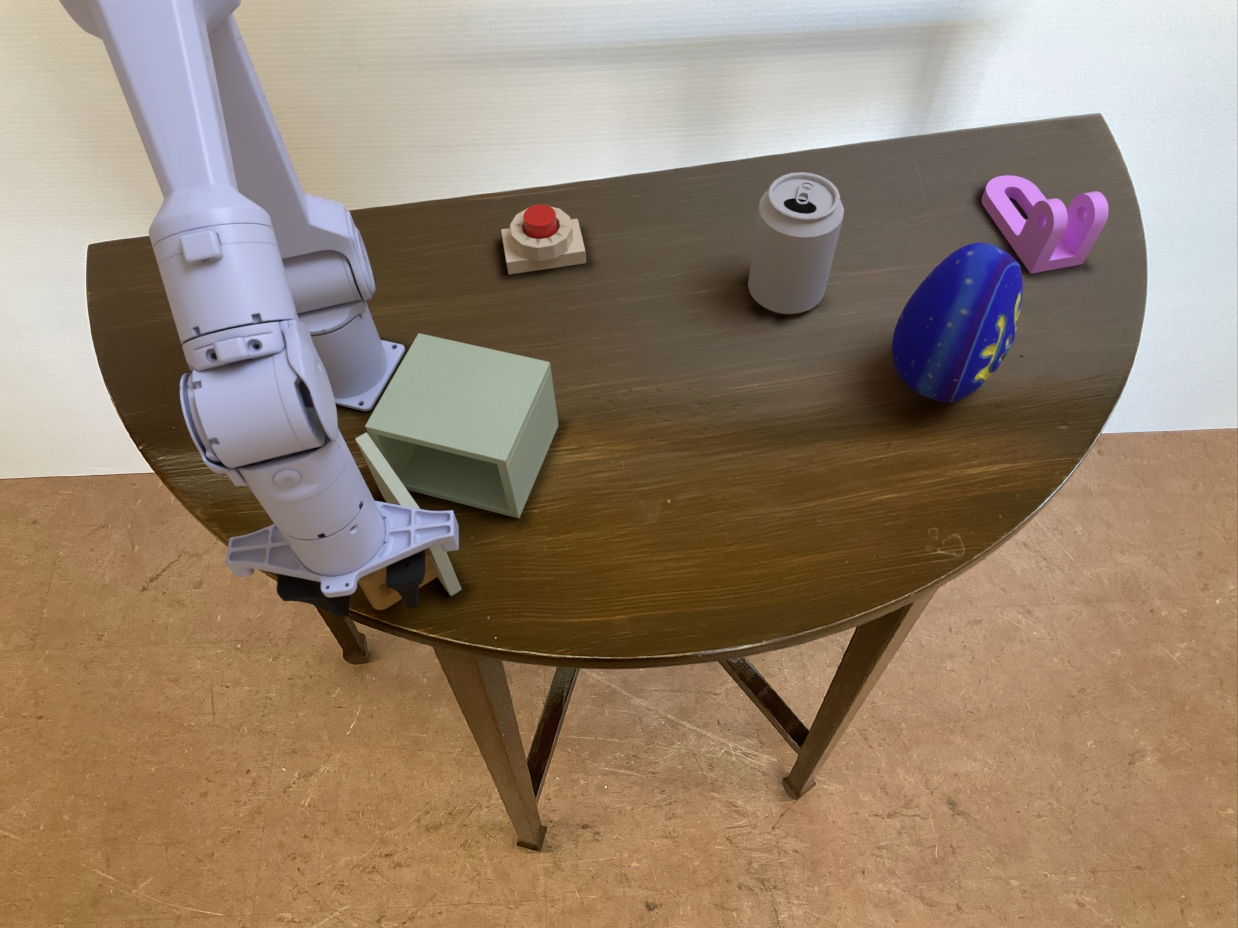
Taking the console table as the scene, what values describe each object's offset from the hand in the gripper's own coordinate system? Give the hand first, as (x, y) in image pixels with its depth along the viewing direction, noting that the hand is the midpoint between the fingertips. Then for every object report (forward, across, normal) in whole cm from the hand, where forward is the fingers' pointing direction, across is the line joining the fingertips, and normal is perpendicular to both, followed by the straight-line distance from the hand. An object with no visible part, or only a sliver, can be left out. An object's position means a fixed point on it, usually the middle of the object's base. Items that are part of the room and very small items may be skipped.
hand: (378, 600), depth 63 cm
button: (0, +15, +39) cm, 42 cm away
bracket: (+4, +65, +36) cm, 74 cm away
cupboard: (+3, +7, +15) cm, 17 cm away
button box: (+3, +15, +39) cm, 42 cm away
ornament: (+4, +49, +18) cm, 52 cm away
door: (+4, 0, +6) cm, 7 cm away
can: (+3, +38, +30) cm, 49 cm away
